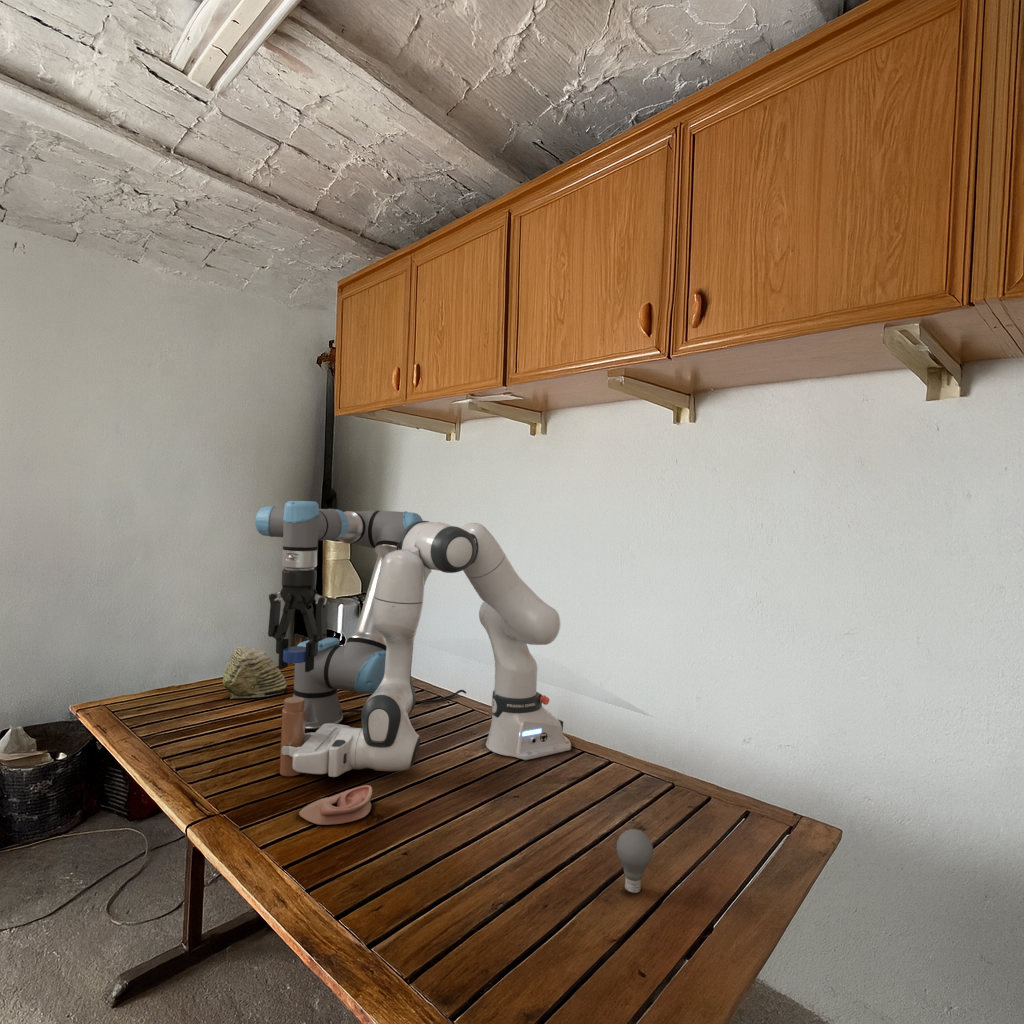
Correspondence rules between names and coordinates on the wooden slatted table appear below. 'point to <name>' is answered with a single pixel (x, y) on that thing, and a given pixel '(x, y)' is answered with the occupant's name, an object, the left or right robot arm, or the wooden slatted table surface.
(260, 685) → the fossil
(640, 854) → the light bulb
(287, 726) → the jar
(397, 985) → the wooden slatted table surface
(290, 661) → the lid
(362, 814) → the anatomical model
